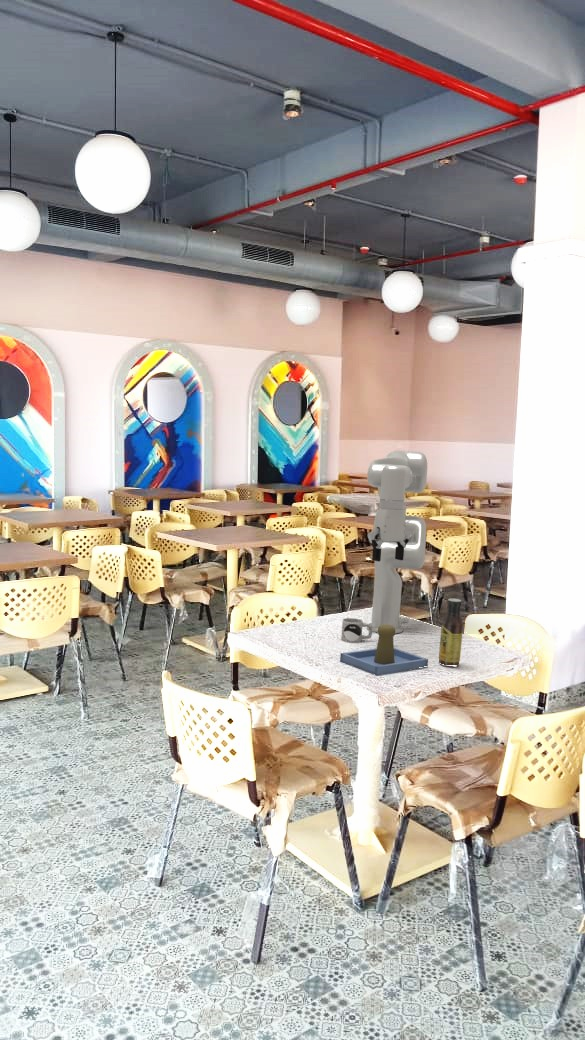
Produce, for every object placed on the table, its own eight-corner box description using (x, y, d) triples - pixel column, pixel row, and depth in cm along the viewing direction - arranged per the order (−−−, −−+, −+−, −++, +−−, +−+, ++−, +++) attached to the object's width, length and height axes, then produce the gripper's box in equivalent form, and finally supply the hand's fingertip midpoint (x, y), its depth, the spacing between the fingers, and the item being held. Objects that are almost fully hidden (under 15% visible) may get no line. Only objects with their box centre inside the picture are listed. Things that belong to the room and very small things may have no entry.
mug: (342, 642, 265) (343, 622, 264) (340, 637, 272) (341, 617, 271) (372, 644, 265) (374, 623, 265) (370, 639, 272) (371, 619, 271)
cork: (394, 660, 243) (397, 624, 242) (394, 665, 237) (397, 628, 236) (374, 658, 244) (376, 622, 243) (373, 663, 238) (376, 626, 237)
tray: (389, 654, 253) (390, 646, 253) (427, 667, 240) (428, 659, 240) (340, 661, 241) (340, 653, 241) (376, 675, 228) (377, 667, 228)
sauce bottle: (436, 661, 247) (441, 596, 246) (457, 663, 247) (462, 598, 245) (440, 667, 241) (445, 600, 239) (461, 668, 241) (466, 602, 239)
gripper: (403, 504, 263) (399, 557, 264) (362, 504, 253) (358, 559, 254) (420, 506, 257) (416, 561, 258) (379, 506, 247) (375, 563, 248)
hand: (387, 560), depth 256 cm, fingers open, 9 cm apart
